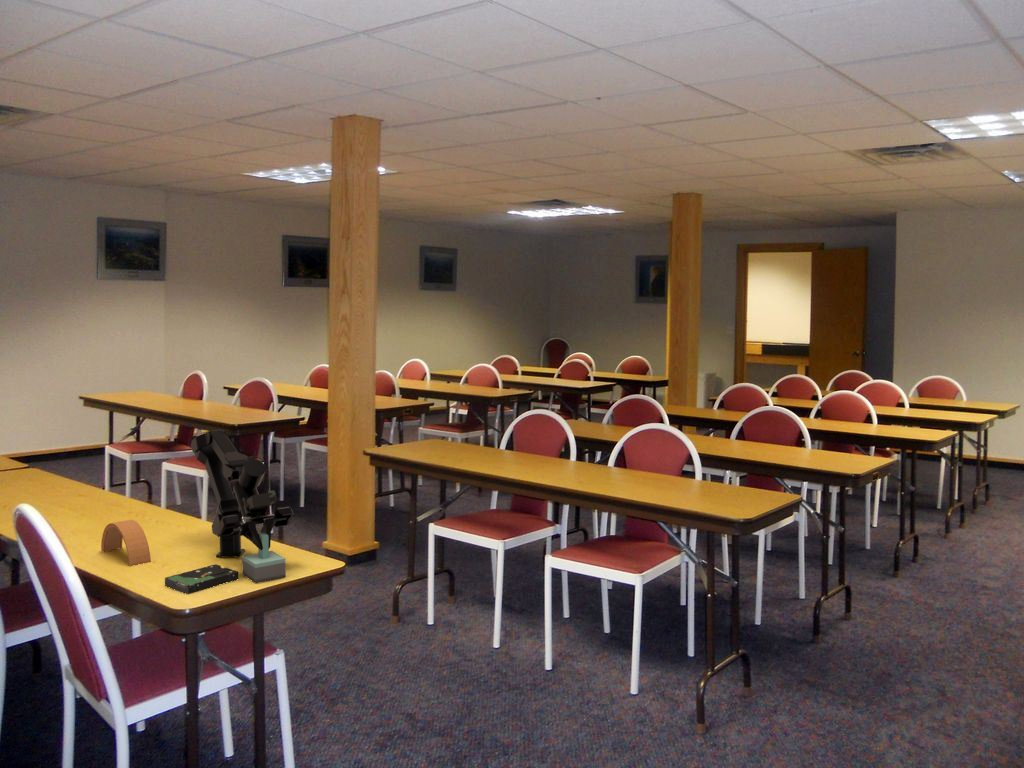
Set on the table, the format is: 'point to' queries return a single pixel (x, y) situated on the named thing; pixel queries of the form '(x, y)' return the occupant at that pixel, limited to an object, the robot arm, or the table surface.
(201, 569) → the disk drive
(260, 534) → the lid
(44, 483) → the table surface
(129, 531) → the arch
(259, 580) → the tub
